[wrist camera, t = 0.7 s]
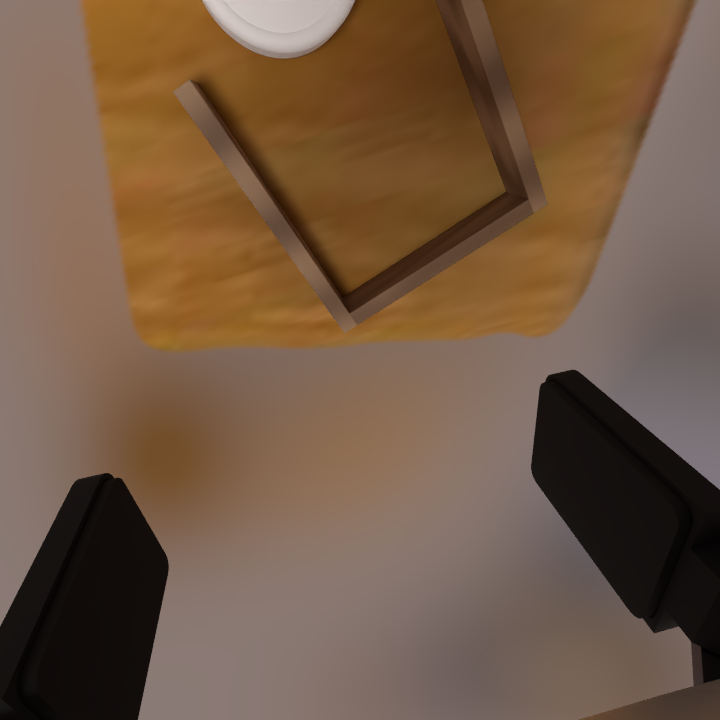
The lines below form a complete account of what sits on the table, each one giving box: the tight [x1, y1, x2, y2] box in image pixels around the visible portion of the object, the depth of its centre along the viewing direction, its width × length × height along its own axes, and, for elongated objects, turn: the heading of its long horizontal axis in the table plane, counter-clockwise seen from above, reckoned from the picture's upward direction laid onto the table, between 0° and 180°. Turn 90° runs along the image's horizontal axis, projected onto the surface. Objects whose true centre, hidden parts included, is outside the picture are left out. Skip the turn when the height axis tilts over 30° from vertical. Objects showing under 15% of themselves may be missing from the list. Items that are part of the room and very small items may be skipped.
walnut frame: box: [173, 0, 547, 333], centre depth 31 cm, size 19×18×4 cm
